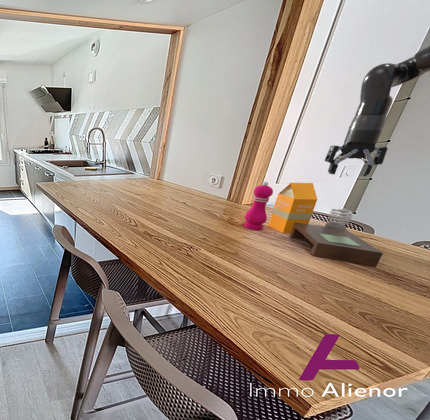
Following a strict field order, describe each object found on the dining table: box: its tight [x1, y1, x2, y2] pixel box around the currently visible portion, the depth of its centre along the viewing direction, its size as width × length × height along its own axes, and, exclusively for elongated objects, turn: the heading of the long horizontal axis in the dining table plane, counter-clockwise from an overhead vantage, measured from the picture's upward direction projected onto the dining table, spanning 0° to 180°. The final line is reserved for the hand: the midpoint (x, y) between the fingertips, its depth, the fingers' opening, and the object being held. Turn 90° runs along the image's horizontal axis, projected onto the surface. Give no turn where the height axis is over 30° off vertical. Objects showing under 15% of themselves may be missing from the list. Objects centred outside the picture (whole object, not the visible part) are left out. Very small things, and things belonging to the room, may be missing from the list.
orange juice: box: [267, 182, 318, 234], centre depth 99 cm, size 8×9×20 cm
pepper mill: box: [243, 181, 274, 231], centre depth 100 cm, size 7×7×20 cm
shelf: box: [289, 222, 384, 268], centre depth 83 cm, size 14×20×6 cm
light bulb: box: [324, 208, 353, 230], centre depth 93 cm, size 6×6×12 cm
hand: (347, 175), depth 90 cm, fingers open, 8 cm apart
